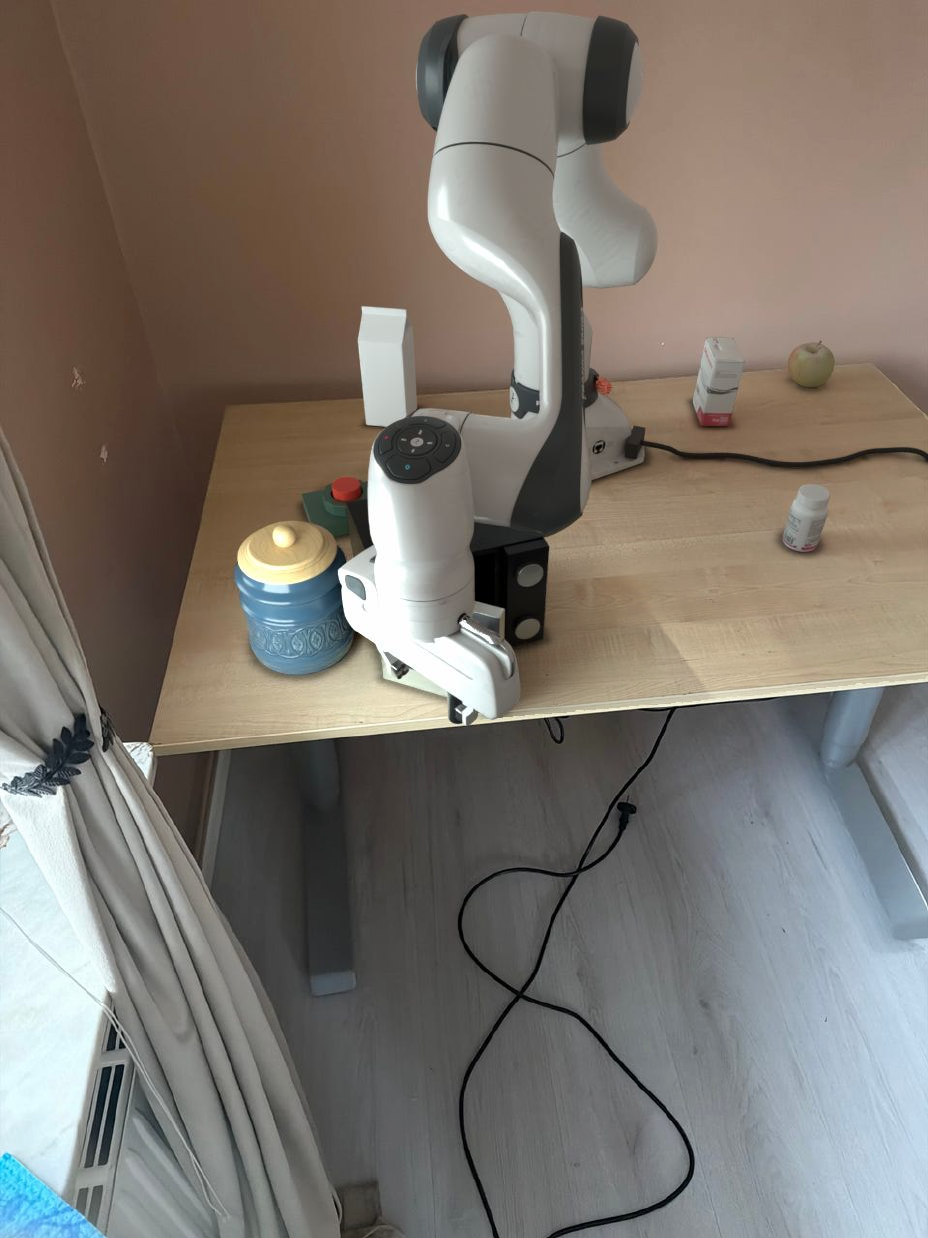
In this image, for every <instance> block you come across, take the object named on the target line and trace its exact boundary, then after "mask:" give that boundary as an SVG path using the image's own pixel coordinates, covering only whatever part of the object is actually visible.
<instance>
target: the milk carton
mask: <svg viewBox="0 0 928 1238" xmlns="http://www.w3.org/2000/svg"><path fill="white" fill-rule="evenodd" d="M359 324H360V325H359V330H358V336H357V346H358V355H359V356H358V357H359V365H360V375H361V386H362V387H361V388H362V396H363V397H362V398H363V406H364V416H365V417H364V418H365V425H367V426H374V427H384V428H386V427H387V426H388V425H390V424H392V423H393V422H395V421H398V420H401V419H403V418H405V417H406V416H407V415H409V414H410V413H412V412H413V411H415V410H417V409H418V397H417V395H418V394H417V377H416V359H415V358H416V357H415V339H414V324H413V323H412V322H411V320H410V319H409V317H408V316H407V308H395V307H382V306H381V307H380V306H369V305H368V306H366V305H362V306H361V318H360V323H359Z"/></svg>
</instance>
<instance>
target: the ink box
mask: <svg viewBox="0 0 928 1238" xmlns="http://www.w3.org/2000/svg"><path fill="white" fill-rule="evenodd" d="M702 350H703V351H702V354H701V355H702V356H701V360H700V365H699V370H698V374H697V380H696V384H695V388H694V393H693V397H692V404H693V407H694V410H695V413H696V416H697V419H698V421H699V424H700V426H701V427H729V426H730V423H731V419H732V416H733V411H734V407H735V403H736V399H737V395H738V391H739V387H740V383H741V379H742V375H743V371H744V367H745V363H746V360H745V359H744V356H743V354H742V351H741V350H740V348H739V345H738V343H737V341H736V339H735V337H725V336H724V337H723V336H708V337H706V338H705V340H704V346H703V349H702Z"/></svg>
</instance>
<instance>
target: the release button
mask: <svg viewBox="0 0 928 1238" xmlns="http://www.w3.org/2000/svg"><path fill="white" fill-rule="evenodd" d="M357 479H358V478H356V477H353V476H342V477H338V478H336V479H334V481H332V482H331V483H332V491H333V497H334V499H335V500H337V501H342V502H348V501H354V500H356V499H358V498H359V497H360V495H361V488H360V482H359V480H360V479H358V480H357Z"/></svg>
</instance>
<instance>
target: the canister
mask: <svg viewBox="0 0 928 1238" xmlns="http://www.w3.org/2000/svg"><path fill="white" fill-rule="evenodd" d="M236 558H237V561H236V563H235V566H234V569H233V579H234V580H233V581H234V583H235V585H236V587H237V589H238V590H239V593H238V597H239V603H240V606H241V608H242V610H243V614H244V618H245V622H246V626H247V636H248V637H247V638H248V641H249V645H250V647H251V650H252V652H253V653H254V654H255V657H256V658H257V659H258V661H259V662H260V663H261V664H262V665H263V666H264V667H266V668H267V669H269V670H271V671H273V672H276V673H281V674H284V675H291V676H292V675H294V676H295V675H297V676H299V675H309V674H313V673H317V672H320V671H323V670H326V669H328V668H330V667H332V666H334V665H335V664H337V663H338V662H339V661H340V660H342V659H343V658H344V657H345V656H346V655H347V653H349V651H350V649H351V647H352V646H353V643H354V638H355V636H354V635H355V632H356V630H354V629H353V628H352V626H351V625H350V623H349V622H348V620H347V618H346V616H345V612H344V606H343V600H342V586H343V585H342V584H341V582H340V580H339V575H338V570H339V569H340V568H341V567H342V566H343V565H344V564H346V563H347V562H348V561H347V557H346V554H345V553H344V550H343V549H342V548H341V546H339V544H338V543H337V541H336V537H333V535H332V534H331V533H330V532H329V531H328V530H326V529H325V528H323V527H321V526H319V525H316V524H313V523H309V521H301V520H284V521H277V522H273V523H271V524H268V525H266V526H264V527H262V528H260V529H257V530H256V531H254V532H253V533H251V534H250V535H249V536H248V537H246V538H245V540H244V541H243V542H242V543H241V544H240V546H239V548H238V550H237V557H236Z"/></svg>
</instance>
